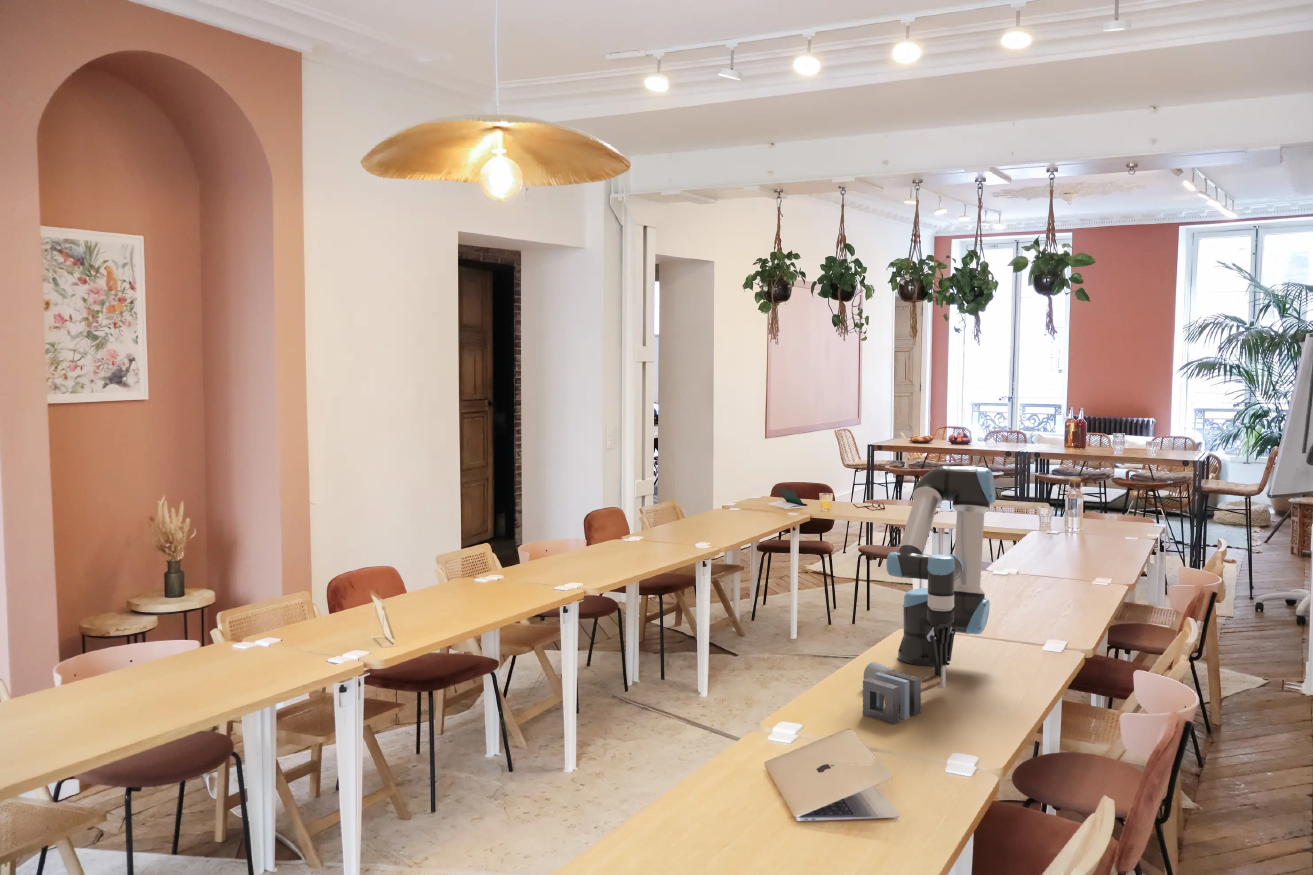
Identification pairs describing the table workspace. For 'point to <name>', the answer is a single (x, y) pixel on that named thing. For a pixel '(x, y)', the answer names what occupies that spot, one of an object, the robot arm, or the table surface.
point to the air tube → (928, 683)
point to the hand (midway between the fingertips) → (940, 686)
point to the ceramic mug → (875, 670)
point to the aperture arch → (903, 693)
